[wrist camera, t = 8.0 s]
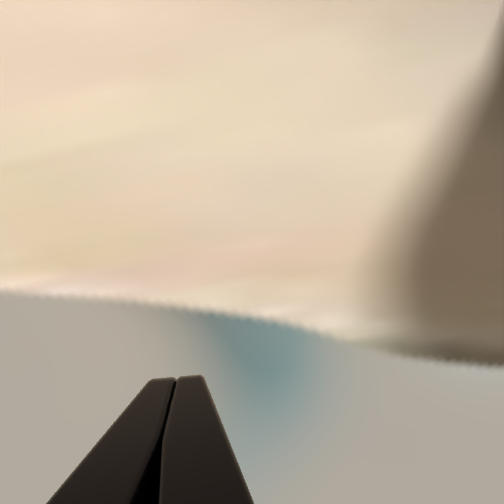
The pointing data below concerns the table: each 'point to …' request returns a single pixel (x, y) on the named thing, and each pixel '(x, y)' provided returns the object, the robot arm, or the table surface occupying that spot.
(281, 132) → the table surface
